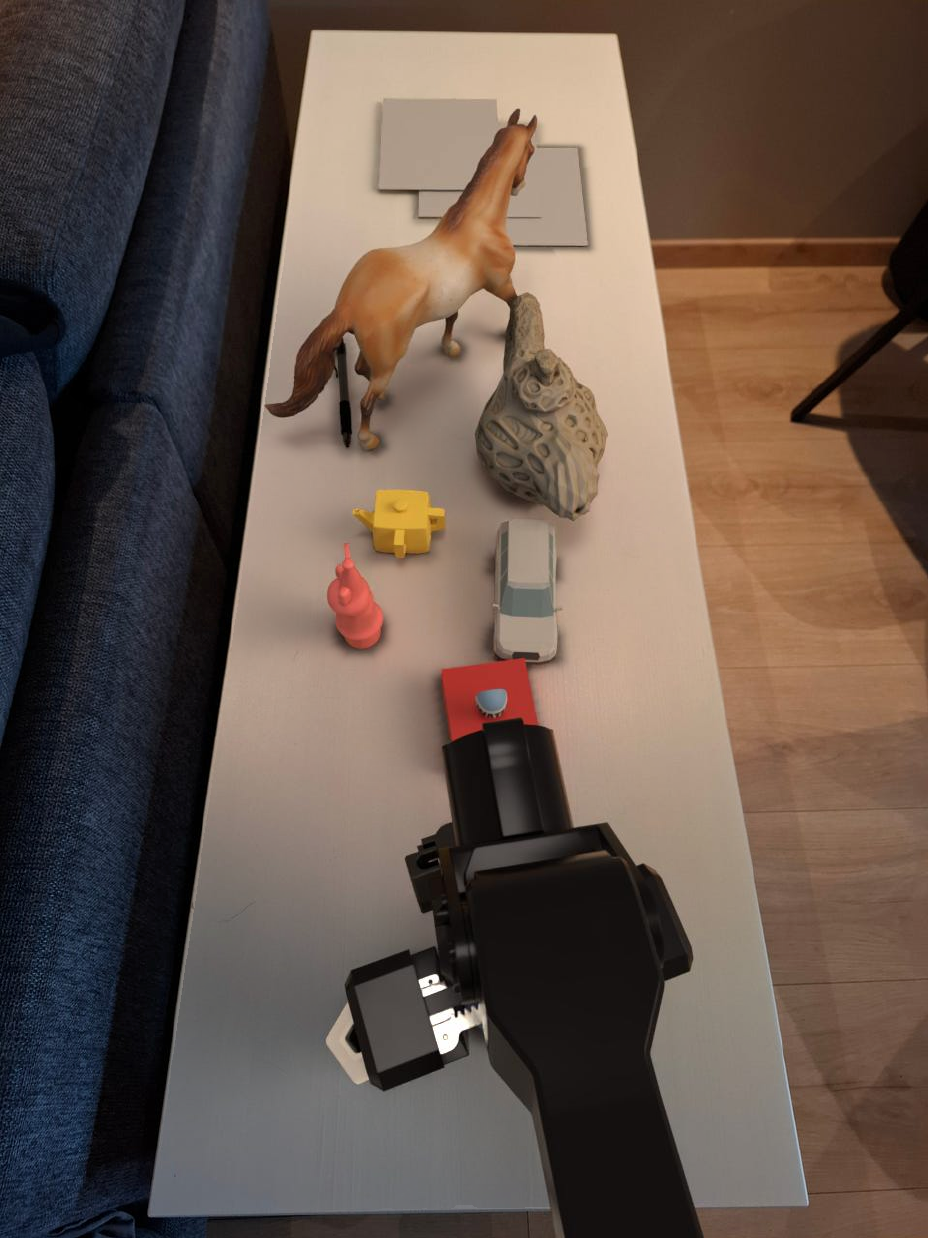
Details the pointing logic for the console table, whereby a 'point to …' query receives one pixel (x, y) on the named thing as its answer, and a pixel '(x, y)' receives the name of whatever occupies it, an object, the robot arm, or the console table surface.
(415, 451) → the console table surface
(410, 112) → the paper stack
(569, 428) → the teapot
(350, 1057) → the white pentagonal vase
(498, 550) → the toy car
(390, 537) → the teapot
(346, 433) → the pen
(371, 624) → the figurine
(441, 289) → the horse figurine
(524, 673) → the red box
